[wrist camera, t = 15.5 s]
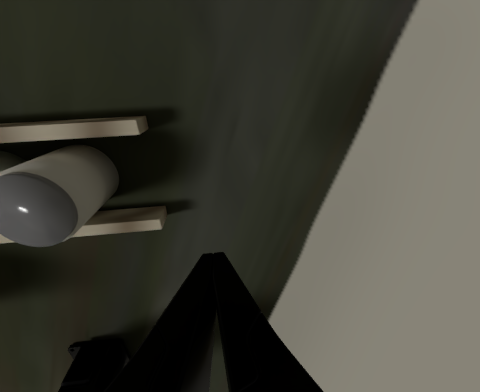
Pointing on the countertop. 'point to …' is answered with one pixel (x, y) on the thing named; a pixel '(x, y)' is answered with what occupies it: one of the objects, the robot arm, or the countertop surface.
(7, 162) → the jar in lane
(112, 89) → the countertop surface
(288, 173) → the countertop surface
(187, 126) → the countertop surface
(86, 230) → the lane
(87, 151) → the jar
